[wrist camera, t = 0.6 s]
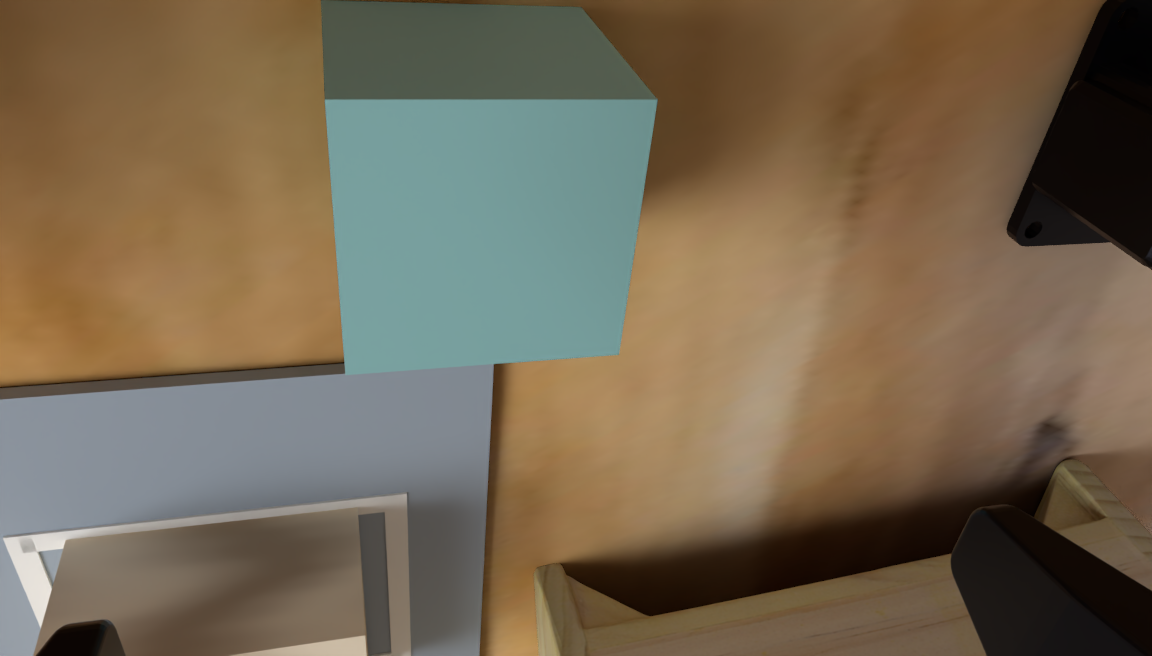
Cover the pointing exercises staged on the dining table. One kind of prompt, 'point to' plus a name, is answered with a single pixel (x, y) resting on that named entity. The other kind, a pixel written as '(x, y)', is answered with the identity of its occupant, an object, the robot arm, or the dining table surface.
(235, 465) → the building mat
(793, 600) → the toy sofa
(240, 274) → the dining table surface
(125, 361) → the dining table surface
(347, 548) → the block
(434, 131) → the teal block
